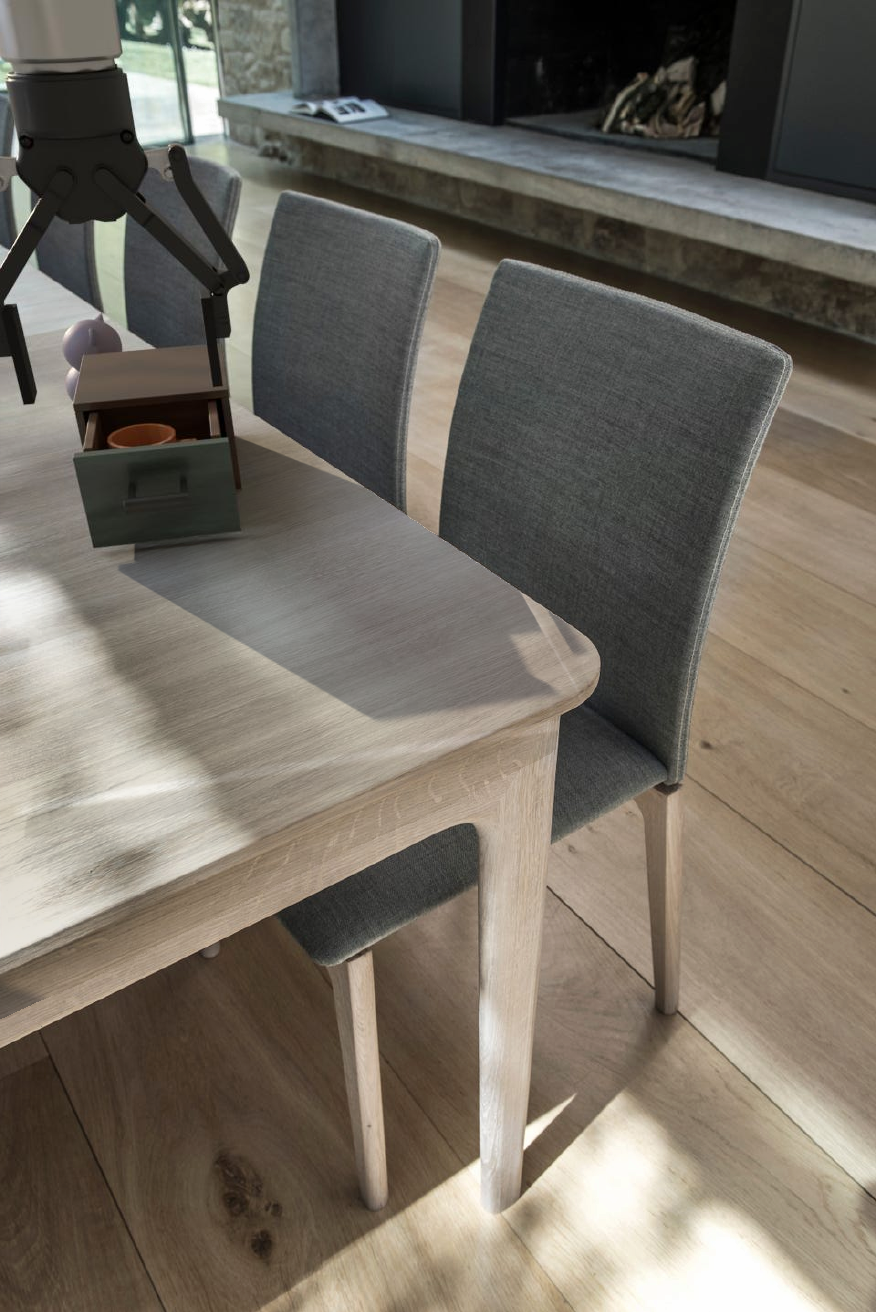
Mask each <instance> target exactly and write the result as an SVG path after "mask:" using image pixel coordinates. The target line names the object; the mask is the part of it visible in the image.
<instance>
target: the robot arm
mask: <svg viewBox="0 0 876 1312" xmlns="http://www.w3.org/2000/svg"><path fill="white" fill-rule="evenodd" d="M117 11H118V10H117V5H116V0H0V59H1V60H2V61H4V62H5V63H9V64H11V66H12V67H11V68H12V71H10V72H8V73H6V75H7V77H6V78H4V80H5V85H6V91H7V95H8V100H9V105H10V109H11V113H12V118H13V122H14V127H15V132H16V137H17V141H18V153H17V156H16V157H15V156H4V155H3V156H1V155H0V193H2V192H4V191H6V190H7V188H8V187H9V186H10V181H11V178H13V177H15V176H18V177H19V180H21V182H23V184H24V185H25V186H26V187H27V188H28V189H29V190H30V191H31V192H32V193H33V194H34V195H35V196H36V197H37V198H38V201H37V203H36V204H35V206H34V208H33V210H32V211H31V213H30V215H29V217H28V219H27V221H26V222H25V224H24V225H23V227H22V229H21V231H20V233H19V234H18V236H17V238H16V239H15V241H14V243H13V244H12V246H11V248H10V249H9V251H8V253H7V255H6V256H5V258H4V260H3V262H2V263H1V265H0V358H11V359H12V364H13V367H14V371H15V376H16V379H17V384H18V388H19V392H20V396H21V400H22V405H23V406H28V405H35V403H36V399H37V394H38V389H37V385H36V381H35V380H36V379H35V377H34V372H33V368H32V363H31V359H30V355H29V350H28V346H27V341H26V338H25V337H26V336H25V334H24V329H23V324H22V321H21V316H20V312H19V309H18V304H17V303H16V302H15V303H5V301H6V300H7V297H8V296H9V294H10V292H11V291H12V288H13V287H14V286H15V284H16V283H17V280H18V279H19V278H20V276H21V273H22V272H23V270H24V269H25V267H26V266H27V263H28V261H29V260H30V259H31V257H32V255H33V253H34V251H35V250H36V248H37V246H38V245H39V244H40V242H41V240H42V238H43V237H44V235H45V234H46V231H47V230H48V229H49V227H50V225H51V223H52V222H53V220H54V218H55V217H57V218H58V219H59V220H60V221H63V222H66V223H68V225H82V224H84V223H87V222H90V221H97V222H102V223H113V222H115V223H116V222H117V220H119V219H121V218H122V217H124V216H126V214H128V215H129V216H130V217H131V218H132V220H134V221H135V222H136V224H138V225H139V226H141V227H142V228H143V229H144V230H146V232H148V234H150V236H152V238H154V239H155V240H156V241H157V242H158V243H159V244H160V245H161V246H162V247H163V248H164V249H165V250H166V251H167V252H168V253H170V254H171V255H172V257H173V258H175V259H176V260H177V261H178V262H179V263H180V264H181V265H182V266H183V267H184V268H185V269H186V270H187V271H188V272H189V273H190V274H191V275H192V276H193V277H194V278H195V279H196V280H198V282H199V283H200V284H202V285H203V286H204V287H205V288H200V289H198V293H199V301H200V307H201V308H200V309H201V315H202V323H203V329H204V336H205V344H207V352H208V359H209V366H210V373H211V379H212V385H213V387H220V386H223V383H222V375H221V368H220V360H219V353H218V346H217V343H218V340H219V339H229V338H230V337H231V333H232V326H231V316H230V307H229V300H228V294H229V292H230V291H231V289H233V288H235V287H237V286H240V285H245V284H247V283H249V281H250V279H251V273H250V270H249V268H248V264H247V263H246V261H245V260H244V258H243V257H242V255H241V253H240V252H239V250H238V248H237V247H236V245H235V244H234V242H233V241H232V239H231V237H230V235H229V234H228V232H227V230H226V229H225V228H224V226H223V224H222V223H221V221H220V219H219V217H218V216H217V215H216V213H215V211H214V209H213V208H212V207H211V205H210V203H209V201H208V200H207V199H206V197H205V195H204V194H203V192H202V190H201V189H200V187H199V185H198V184H197V183H196V181H195V179H194V177H193V176H192V173H191V167H190V163H189V159H188V156H187V153H186V152H187V151H186V149H185V146H184V144H182V143H181V142H180V141H172V142H170V143H169V144H168V146H163V147H158V148H152V149H151V148H150V149H146V150H144V148H143V147H142V145H141V144H140V142H139V139H138V137H137V136H138V135H137V131H136V124H135V118H134V112H133V106H132V105H133V104H132V100H131V94H130V93H131V92H130V87H129V81H128V80H129V79H128V74H127V72H124V70H123V68H122V67H119V66H118V63H116V59H119V58H120V57H121V56H122V55H123V53H124V51H123V45H122V44H123V43H122V38H121V31H120V25H119V19H118V12H117ZM149 169H154V170H156V171H157V172H158V173H159V175H160V176H161V178H162V180H164V181H165V182H167V183H173V182H174V184H175V187H176V189H177V190H178V193H179V194H180V196H181V198H182V199H183V201H184V203H185V205H186V206H187V208H188V209H189V211H190V213H192V215H193V216H194V218H195V220H196V222H197V223H198V225H199V226H200V228H201V230H202V232H203V233H204V235H205V236H206V237H207V239H208V240H209V242H210V243H211V246H212V247H213V248H214V250H215V252H216V253H217V255H218V257H219V259H221V261H222V263H223V264H224V267H222V268H219V269H218V268H217V267H216V266H214V264H212V262H211V261H210V260H208V259H207V258H206V257H205V256H204V255H203V254H202V252H200V251H199V250H198V248H196V247H195V246H194V244H192V242H190V241H189V240H188V239H187V238H186V237H185V236H184V235H183V234H182V232H180V231H179V230H178V229H177V228H176V227H175V226H174V225H173V224H172V223H171V222H170V220H168V219H167V218H166V217H165V216H164V215H163V214H162V213H161V212H160V211H159V210H158V209H156V207H155V206H154V205H153V204H152V202H151V201H150V200H149V199H148V198H147V197H146V196H145V195H143V194H142V192H140V190H139V189H140V188H141V186H142V183H143V182H144V180H145V177H146V176H147V173H148V170H149Z"/></svg>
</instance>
